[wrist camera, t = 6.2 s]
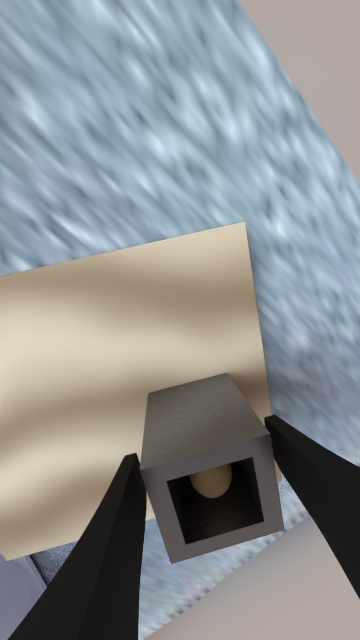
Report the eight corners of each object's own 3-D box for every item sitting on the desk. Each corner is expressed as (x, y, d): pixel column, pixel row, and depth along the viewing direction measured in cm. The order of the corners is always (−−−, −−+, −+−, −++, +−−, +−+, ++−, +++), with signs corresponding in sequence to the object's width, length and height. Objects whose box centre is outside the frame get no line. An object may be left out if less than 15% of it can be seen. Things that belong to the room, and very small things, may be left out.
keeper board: (270, 462, 16) (334, 568, 10) (21, 533, 15) (-68, 696, 9) (234, 228, 12) (304, 180, 6) (-106, 305, 11) (-402, 334, 5)
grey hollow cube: (239, 438, 13) (284, 530, 8) (167, 458, 13) (171, 563, 8) (226, 372, 12) (270, 433, 7) (148, 392, 12) (139, 469, 7)
